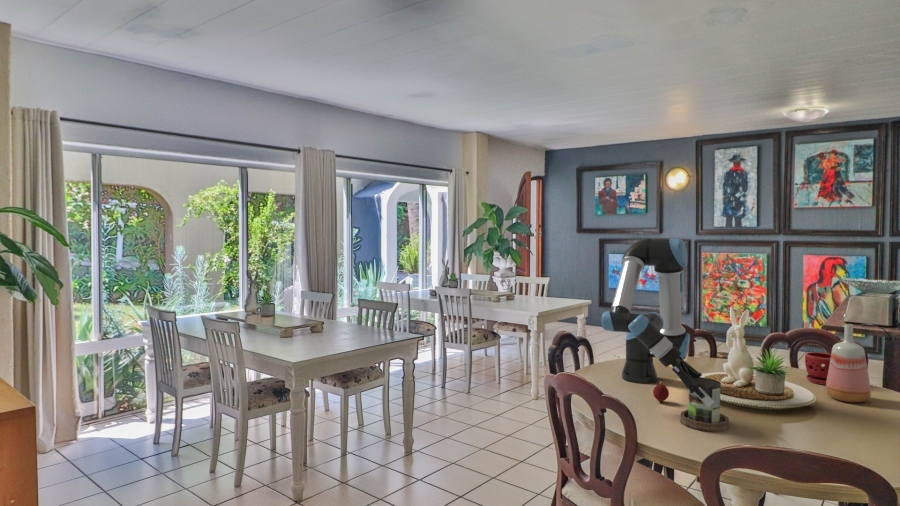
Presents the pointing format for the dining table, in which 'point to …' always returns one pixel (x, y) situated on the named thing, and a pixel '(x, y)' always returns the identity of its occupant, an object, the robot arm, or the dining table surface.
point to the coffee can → (698, 408)
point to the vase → (848, 371)
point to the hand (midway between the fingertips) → (711, 398)
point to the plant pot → (817, 367)
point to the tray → (705, 426)
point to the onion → (661, 392)
